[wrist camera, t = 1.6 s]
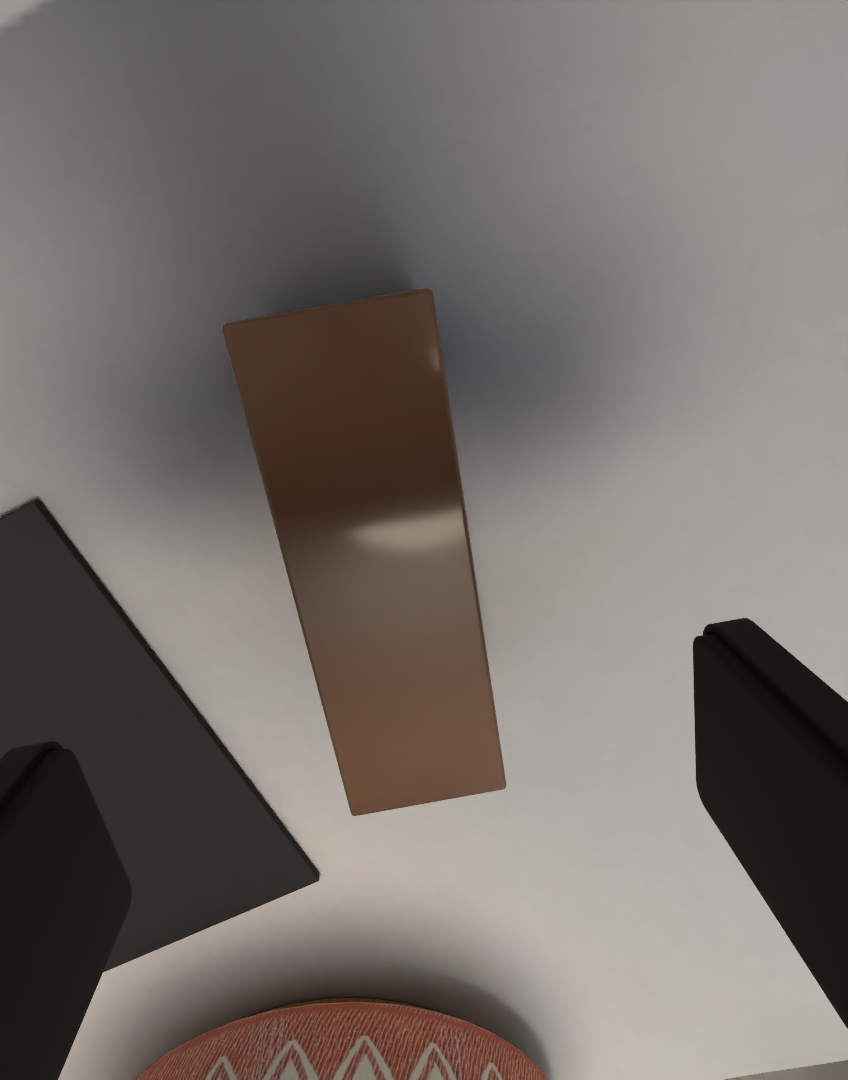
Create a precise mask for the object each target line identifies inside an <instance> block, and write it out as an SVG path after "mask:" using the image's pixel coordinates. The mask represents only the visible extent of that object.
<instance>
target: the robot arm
mask: <svg viewBox="0 0 848 1080" xmlns="http://www.w3.org/2000/svg"><path fill="white" fill-rule="evenodd" d="M693 665H694V709H695V752H696V783H697V788H698V792H699V795H700V798H701V801H702V803H703V805H704V807H705V808H706V810H707V812H708V813H709V815H710V816H711V818H712V819H713V821H714V822H715V824H716V825H717V827H718V829H719V830H720V832H721V833H722V835H723V836H724V838H725V839H726V841H727V843H728V844H729V846H730V847H731V849H732V850H733V852H734V853H735V855H736V856H737V858H738V860H739V861H740V863H741V864H742V866H743V867H744V869H745V870H746V872H747V874H748V875H749V877H750V878H751V880H752V881H753V883H754V884H755V886H756V888H757V889H758V891H759V892H760V894H761V895H762V897H763V898H764V900H765V901H766V903H767V905H768V906H769V908H770V909H771V911H772V912H773V914H774V915H775V917H776V919H777V920H778V922H779V923H780V925H781V926H782V928H783V929H784V931H785V932H786V934H787V936H788V937H789V939H790V940H791V942H792V943H793V945H794V946H795V948H796V950H797V951H798V953H799V954H800V956H801V957H802V959H803V960H804V962H805V963H806V965H807V967H808V968H809V970H810V971H811V973H812V974H813V976H814V977H815V979H816V981H817V982H818V984H819V985H820V987H821V988H822V990H823V991H824V993H825V994H826V996H827V998H828V999H829V1001H830V1002H831V1004H832V1005H833V1007H834V1008H835V1010H836V1012H837V1013H838V1015H839V1016H840V1018H841V1019H842V1021H843V1022H844V1024H845V1025H846V1027H847V1028H848V702H847V701H846V700H845V699H843V698H842V697H841V696H840V695H839V694H838V693H836V692H835V691H834V690H833V689H832V688H830V687H829V686H828V685H827V684H826V683H825V682H823V681H822V680H821V679H820V678H819V677H818V676H816V675H815V674H814V673H813V672H812V671H810V670H809V669H808V668H807V667H806V666H805V665H803V664H802V663H801V662H800V661H799V660H798V659H796V658H795V657H794V656H793V655H792V654H790V653H789V652H788V651H787V650H786V649H785V648H783V647H782V646H781V645H780V644H779V643H777V642H776V641H775V640H774V639H773V638H772V637H770V636H769V635H768V634H767V633H766V632H765V631H763V630H762V629H761V628H760V627H759V626H757V625H756V624H755V623H754V622H753V621H751V620H750V619H748V618H742V619H736V620H731V621H725V622H720V623H714V624H708V625H707V626H706V627H705V629H704V632H703V636H697V637H696V638H695V639H694V642H693ZM131 897H132V890H131V884H130V881H129V878H128V876H127V873H126V871H125V869H124V866H123V864H122V862H121V860H120V857H119V855H118V853H117V850H116V848H115V846H114V843H113V841H112V839H111V836H110V834H109V832H108V829H107V827H106V825H105V823H104V820H103V818H102V816H101V813H100V811H99V809H98V806H97V804H96V802H95V799H94V797H93V795H92V792H91V790H90V788H89V785H88V783H87V781H86V779H85V776H84V774H83V772H82V769H81V767H80V765H79V762H78V760H77V758H76V756H75V754H74V752H72V751H71V750H70V749H63V747H62V746H61V745H60V744H59V743H58V742H54V741H50V742H44V743H39V744H33V745H27V746H22V747H16V748H13V749H10V750H9V751H8V752H7V753H6V754H5V755H4V756H3V757H2V758H1V760H0V1080H58V1078H59V1076H60V1073H61V1071H62V1068H63V1066H64V1064H65V1061H66V1059H67V1057H68V1054H69V1052H70V1049H71V1047H72V1045H73V1042H74V1040H75V1037H76V1035H77V1033H78V1030H79V1028H80V1025H81V1023H82V1021H83V1018H84V1016H85V1014H86V1011H87V1009H88V1006H89V1004H90V1002H91V999H92V997H93V994H94V992H95V990H96V987H97V985H98V983H99V980H100V978H101V975H102V973H103V971H104V968H105V966H106V963H107V961H108V959H109V956H110V954H111V952H112V949H113V947H114V944H115V942H116V940H117V937H118V935H119V932H120V930H121V928H122V925H123V923H124V921H125V918H126V916H127V913H128V911H129V908H130V904H131ZM725 1080H848V1060H847V1061H840V1062H834V1063H827V1064H821V1065H814V1066H807V1067H801V1068H794V1069H787V1070H781V1071H774V1072H768V1073H761V1074H754V1075H748V1076H742V1077H736V1078H730V1079H725Z"/></svg>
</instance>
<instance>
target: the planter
mask: <svg viewBox="0 0 848 1080" xmlns="http://www.w3.org/2000/svg"><path fill="white" fill-rule="evenodd" d="M136 1080H547V1078H546V1077H545V1075H544V1074H543V1072H542V1071H541V1070H540V1069H539V1068H538V1067H537V1066H536V1065H535V1064H534V1063H533V1062H532V1061H531V1060H530V1059H529V1058H528V1057H527V1056H526V1055H525V1054H524V1053H523V1052H522V1051H520V1050H519V1049H517V1048H516V1047H514V1046H513V1045H511V1044H510V1043H508V1042H507V1041H505V1040H504V1039H502V1038H501V1037H499V1036H498V1035H496V1034H494V1033H492V1032H489V1031H487V1030H485V1029H483V1028H481V1027H479V1026H476V1025H474V1024H472V1023H470V1022H468V1021H465V1020H461V1019H458V1018H455V1017H451V1016H448V1015H445V1014H442V1013H438V1012H435V1011H431V1010H428V1009H424V1008H421V1007H418V1006H414V1005H411V1004H406V1003H400V1002H394V1001H389V1000H383V999H367V998H335V999H320V1000H313V1001H307V1002H301V1003H294V1004H290V1005H286V1006H283V1007H279V1008H275V1009H271V1010H268V1011H264V1012H262V1013H259V1014H257V1015H254V1016H250V1017H247V1018H243V1019H239V1020H235V1021H233V1022H230V1023H228V1024H225V1025H223V1026H220V1027H218V1028H215V1029H213V1030H210V1031H208V1032H205V1033H203V1034H200V1035H198V1036H197V1037H195V1038H193V1039H191V1040H189V1041H188V1042H186V1043H184V1044H182V1045H181V1046H179V1047H177V1048H175V1049H173V1050H172V1051H170V1052H168V1053H167V1054H166V1055H164V1056H163V1057H162V1058H161V1059H159V1060H158V1061H157V1062H155V1063H154V1064H153V1065H151V1066H150V1067H149V1068H148V1069H146V1070H145V1071H144V1072H143V1073H141V1075H140V1076H139V1077H138V1078H137V1079H136Z"/></svg>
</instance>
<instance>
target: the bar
mask: <svg viewBox="0 0 848 1080" xmlns="http://www.w3.org/2000/svg"><path fill="white" fill-rule="evenodd" d="M222 330H223V334H224V337H225V341H226V345H227V349H228V352H229V356H230V360H231V364H232V368H233V371H234V375H235V379H236V383H237V386H238V390H239V394H240V398H241V401H242V405H243V409H244V413H245V416H246V420H247V424H248V428H249V431H250V435H251V439H252V443H253V446H254V450H255V454H256V458H257V461H258V465H259V469H260V473H261V477H262V480H263V484H264V488H265V492H266V495H267V499H268V503H269V507H270V510H271V514H272V518H273V522H274V525H275V529H276V533H277V537H278V540H279V544H280V548H281V552H282V555H283V559H284V563H285V567H286V570H287V574H288V578H289V582H290V586H291V589H292V593H293V597H294V601H295V604H296V608H297V612H298V616H299V619H300V623H301V627H302V631H303V634H304V638H305V642H306V646H307V649H308V653H309V657H310V661H311V664H312V668H313V672H314V676H315V680H316V683H317V687H318V691H319V695H320V698H321V702H322V706H323V710H324V713H325V717H326V721H327V725H328V728H329V732H330V736H331V740H332V743H333V747H334V751H335V755H336V758H337V762H338V766H339V770H340V773H341V777H342V781H343V785H344V789H345V792H346V796H347V800H348V804H349V807H350V811H351V814H352V815H353V816H357V815H363V814H368V813H374V812H379V811H385V810H391V809H396V808H402V807H407V806H413V805H418V804H424V803H429V802H435V801H441V800H446V799H452V798H457V797H463V796H468V795H474V794H480V793H485V792H491V791H496V790H502V789H505V788H506V780H505V773H504V766H503V760H502V753H501V746H500V739H499V733H498V726H497V719H496V713H495V706H494V699H493V692H492V686H491V679H490V672H489V666H488V659H487V652H486V646H485V639H484V632H483V625H482V619H481V612H480V605H479V599H478V592H477V585H476V578H475V572H474V565H473V558H472V552H471V545H470V538H469V531H468V525H467V518H466V511H465V505H464V498H463V491H462V484H461V478H460V471H459V464H458V458H457V451H456V444H455V437H454V431H453V424H452V417H451V411H450V404H449V397H448V390H447V384H446V377H445V370H444V364H443V357H442V350H441V343H440V337H439V330H438V323H437V317H436V310H435V303H434V297H433V292H432V290H431V289H429V288H423V289H413V290H408V291H402V292H397V293H391V294H385V295H380V296H374V297H368V298H363V299H357V300H351V301H346V302H340V303H334V304H329V305H323V306H317V307H312V308H306V309H300V310H295V311H289V312H284V313H278V314H272V315H267V316H262V317H257V318H252V319H247V320H242V321H237V322H232V323H227V324H225V325H223V329H222Z"/></svg>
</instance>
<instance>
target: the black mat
mask: <svg viewBox="0 0 848 1080" xmlns="http://www.w3.org/2000/svg"><path fill="white" fill-rule="evenodd" d="M50 741H54V742H58V743H59V744H60V745H61V746H62V747H63V749H70V750H71V751H72V752H74V754H75V756H76V758H77V760H78V762H79V765H80V767H81V769H82V772H83V774H84V776H85V779H86V781H87V783H88V785H89V788H90V790H91V792H92V795H93V797H94V799H95V802H96V804H97V806H98V809H99V811H100V813H101V816H102V818H103V820H104V823H105V825H106V827H107V829H108V832H109V834H110V836H111V839H112V841H113V843H114V846H115V848H116V850H117V853H118V855H119V857H120V860H121V862H122V864H123V866H124V869H125V871H126V873H127V876H128V878H129V881H130V884H131V890H132V897H131V904H130V908H129V911H128V913H127V916H126V918H125V921H124V923H123V925H122V928H121V930H120V932H119V935H118V937H117V940H116V942H115V944H114V947H113V949H112V952H111V954H110V956H109V959H108V961H107V963H106V966H105V968H104V971H103V972H105V971H107V970H110V969H112V968H114V967H117V966H119V965H121V964H124V963H126V962H128V961H131V960H133V959H136V958H138V957H140V956H143V955H145V954H147V953H150V952H152V951H154V950H157V949H159V948H162V947H164V946H166V945H169V944H171V943H173V942H176V941H178V940H180V939H183V938H185V937H187V936H190V935H192V934H195V933H197V932H199V931H202V930H204V929H206V928H209V927H211V926H213V925H216V924H218V923H221V922H223V921H225V920H228V919H230V918H232V917H235V916H237V915H239V914H242V913H244V912H246V911H249V910H251V909H254V908H256V907H258V906H261V905H263V904H265V903H268V902H270V901H272V900H275V899H277V898H280V897H282V896H284V895H287V894H289V893H291V892H294V891H296V890H298V889H301V888H303V887H306V886H308V885H310V884H313V883H315V882H317V881H319V876H320V874H319V873H318V871H317V870H316V869H315V867H314V866H313V865H312V863H311V862H310V861H309V859H308V858H307V857H306V855H305V854H304V853H303V851H302V850H301V849H300V847H299V846H298V845H297V843H296V842H295V841H294V839H293V838H292V837H291V835H290V834H289V833H288V831H287V830H286V829H285V827H284V826H283V825H282V823H281V822H280V821H279V819H278V818H277V817H276V815H275V814H274V813H273V811H272V810H271V809H270V808H269V806H268V805H267V804H266V802H265V801H264V800H263V798H262V797H261V796H260V794H259V793H258V792H257V790H256V789H255V788H254V786H253V785H252V784H251V782H250V781H249V780H248V778H247V777H246V776H245V774H244V773H243V772H242V770H241V769H240V768H239V766H238V765H237V764H236V762H235V761H234V760H233V758H232V757H231V756H230V754H229V753H228V752H227V750H226V749H225V748H224V746H223V745H222V744H221V742H220V741H219V740H218V738H217V737H216V736H215V734H214V733H213V732H212V730H211V729H210V728H209V726H208V725H207V724H206V722H205V721H204V720H203V718H202V717H201V716H200V714H199V713H198V712H197V710H196V709H195V708H194V706H193V705H192V704H191V702H190V701H189V700H188V698H187V697H186V696H185V694H184V693H183V692H182V690H181V689H180V688H179V686H178V685H177V684H176V682H175V681H174V680H173V678H172V677H171V676H170V674H169V673H168V672H167V670H166V669H165V668H164V666H163V665H162V664H161V662H160V661H159V660H158V658H157V657H156V656H155V654H154V653H153V652H152V650H151V649H150V648H149V646H148V645H147V644H146V642H145V641H144V640H143V638H142V637H141V636H140V634H139V633H138V632H137V630H136V629H135V628H134V626H133V625H132V624H131V622H130V621H129V620H128V618H127V617H126V616H125V614H124V613H123V612H122V610H121V609H120V608H119V606H118V605H117V604H116V602H115V601H114V600H113V598H112V597H111V596H110V594H109V593H108V592H107V590H106V589H105V588H104V586H103V585H102V584H101V582H100V581H99V580H98V578H97V577H96V576H95V574H94V573H93V572H92V570H91V569H90V568H89V566H88V565H87V564H86V562H85V561H84V560H83V558H82V557H81V556H80V554H79V553H78V552H77V550H76V549H75V548H74V546H73V545H72V544H71V542H70V541H69V540H68V538H67V537H66V536H65V534H64V533H63V532H62V530H61V529H60V528H59V526H58V525H57V524H56V522H55V521H54V520H53V518H52V517H51V516H50V514H49V513H48V512H47V510H46V509H45V508H44V506H43V505H42V504H41V502H40V501H39V500H38V499H37V500H35V501H33V502H31V503H29V504H27V505H25V506H23V507H21V508H19V509H17V510H15V511H13V512H11V513H9V514H8V515H6V516H4V517H2V518H0V760H1V758H2V757H3V756H4V755H5V754H6V753H7V752H8V751H9V750H10V749H13V748H16V747H22V746H27V745H33V744H39V743H44V742H50Z"/></svg>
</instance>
